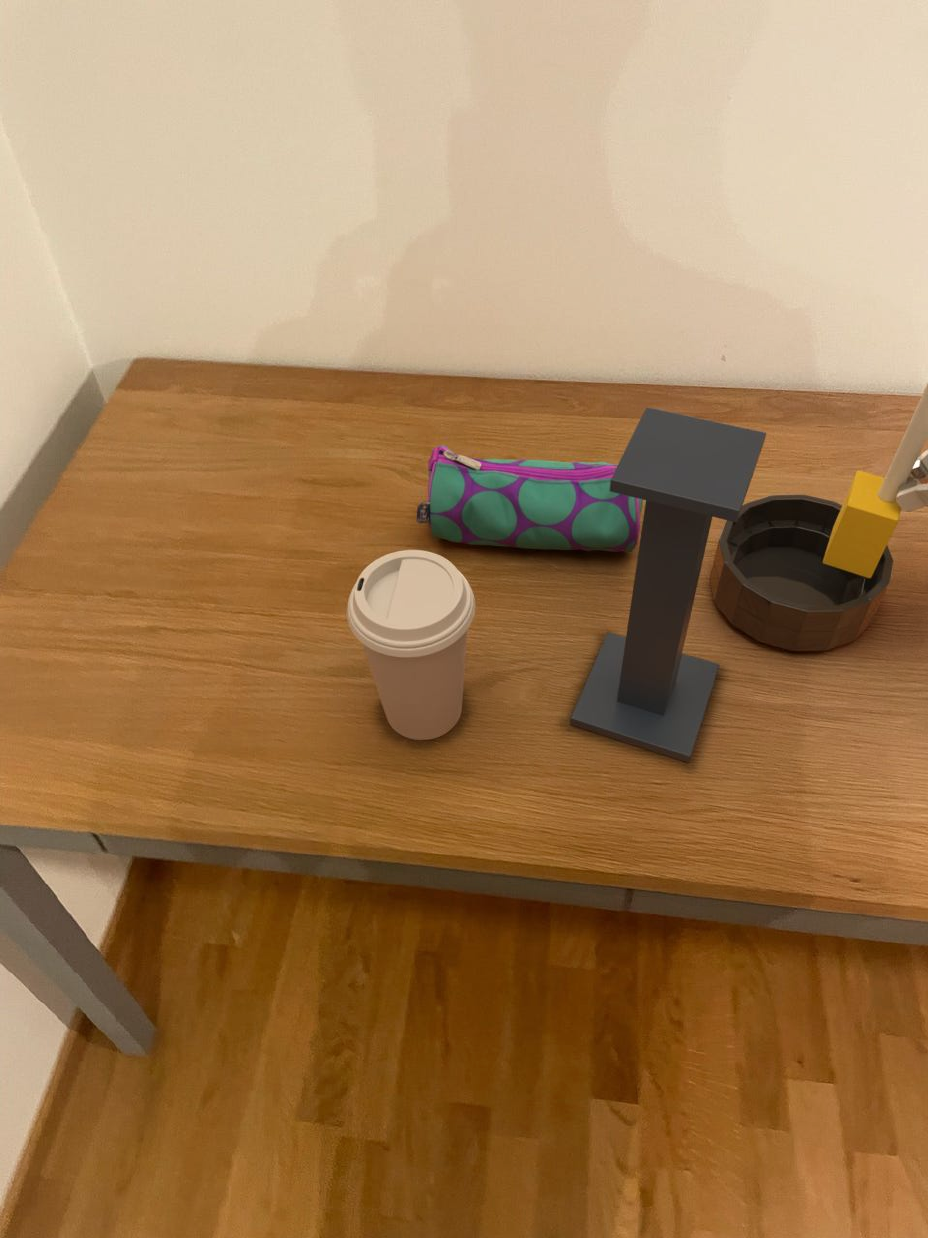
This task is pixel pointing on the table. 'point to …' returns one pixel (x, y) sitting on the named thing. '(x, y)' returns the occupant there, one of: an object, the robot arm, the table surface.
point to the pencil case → (528, 504)
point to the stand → (667, 580)
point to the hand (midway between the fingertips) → (901, 488)
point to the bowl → (792, 576)
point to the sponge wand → (875, 504)
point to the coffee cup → (414, 638)
